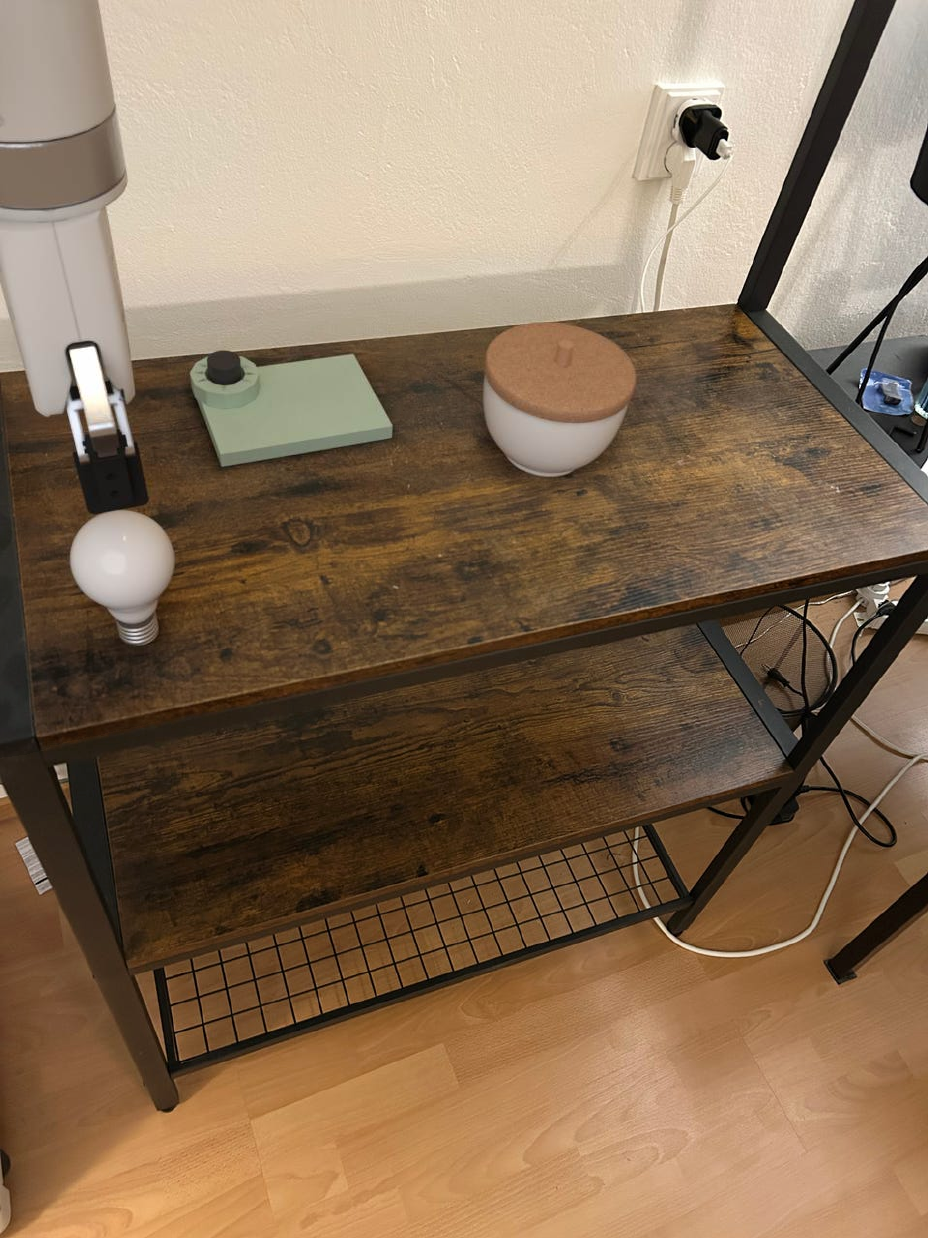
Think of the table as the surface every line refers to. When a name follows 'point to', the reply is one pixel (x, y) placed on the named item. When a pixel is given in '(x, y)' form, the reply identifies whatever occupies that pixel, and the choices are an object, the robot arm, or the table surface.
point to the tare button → (224, 367)
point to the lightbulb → (124, 569)
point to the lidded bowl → (555, 395)
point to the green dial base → (289, 409)
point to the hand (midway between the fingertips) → (104, 450)
